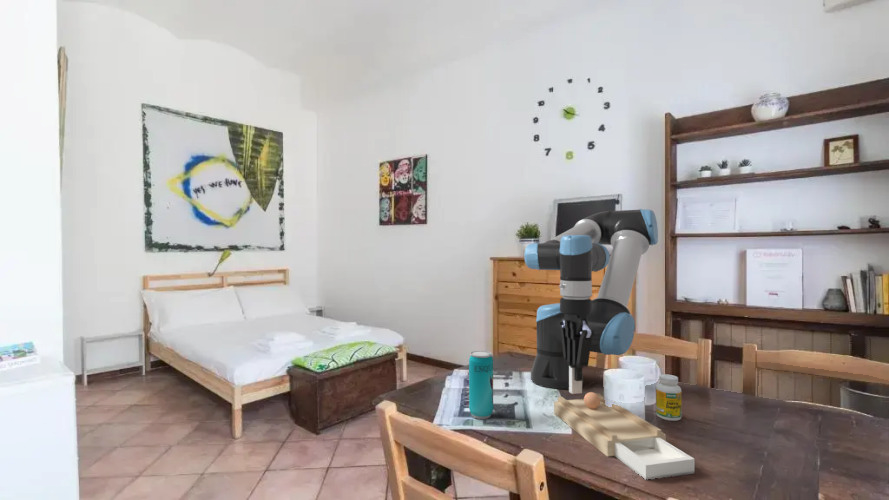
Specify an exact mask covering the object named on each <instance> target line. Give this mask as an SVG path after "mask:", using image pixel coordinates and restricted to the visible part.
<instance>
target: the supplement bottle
mask: <svg viewBox="0 0 889 500" xmlns="http://www.w3.org/2000/svg"><path fill="white" fill-rule="evenodd" d="M658 377H659V378H658V381H659V383H657V385H656V386H655V387H656V388H655V392H656V393H655V396H656V397H655V399H656V401H655V403H656V405H655V406H656V408H655V409H656V411H655V413H656V416H657V417H658V418H660V419H663V420H666V421H673V422H675V421H676V422H677V421H680V420H681V419H682V416H683V415H682V407H683V406H682V387H680V386H679V385H678V384H679V377H678V376H676V375H672V374H667V373H663V374H659V375H658Z"/></svg>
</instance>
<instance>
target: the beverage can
mask: <svg viewBox="0 0 889 500" xmlns="http://www.w3.org/2000/svg"><path fill="white" fill-rule="evenodd" d="M468 374H469V375H468V408H469V411H470V414H471V416H472V418H474V419H475V420H487V419H490V418H491V416H492V414H493V411H494V358H493V353H492V352H491V351H487V350H474V351H471V352H470V356H469V359H468Z"/></svg>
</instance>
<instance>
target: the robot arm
mask: <svg viewBox="0 0 889 500" xmlns="http://www.w3.org/2000/svg"><path fill="white" fill-rule="evenodd" d="M658 230H659V229H658V222H657V217H656V213H655V212H654V211H653V210H652V209H648V208H647V209H645V208H644V209H643V208H639V209H625V210H624V209H623V210H607V211H601V212H597V213H594V214H591V215H589V216H586V217H584V218H582V219H580V220H578V221H577V222H576V223H575V225H573V227H571V228H570V229H568V230H566V231H564V232H562V233H560V234H558V235H557V236H555V237H552V238H551V239H549V240H547V241H545V242H542V243H540V242H536V243H535V242H534V243H530V244H528V245H527V246H526V248H525V249H524V254H523V255H524V257H523V258H524V262H525V265H526V267H527V268H528V269H530V270H538V271H560V272H559V273H560V275H559V277H560V278H559V280H560V281H559V290H560V292H559V295H560V296H561V298H560V299H559V302H558V303H551V304H550V303H549V304H544V305H540V306H539V307H538V308H537V310H536V320H535V323H536V355H535V358H534V361H533V363H532V364H533V365H532V367H531V371H530V381H531V380H532V381H533V382H532V381H531V382H532V383H534V384H535V383H536V384H535V385H537V384H539V386H540V385H542V386H541V387H544V386H545V387H544V388H549V387H551V388H550V389H560V390H562V389H563V390H564V389H566V390H567V389H568V392H569V393H570V394H572V395H575V394H583V384H584V375H583V368H585V367H586V368H587V367H588V366H589V363H590V362H589V361H590V354H591V353H597V354H603V355H606V356H608V355H612V356H613V355H614V356H621V355H624V354H625V353H627V351H628V350H629V349H630V348H631V345H632V343H633V339H634V337H635V334H634V332H635V329H636V328H635V325H636V324H635V319H634V316H633V315H632V314H631V311H630V309H629V308H628V304H629V302H630V297H631V294H632V290H633V287H634V283H635V279H636V275H637V272H638V268H639V264H640V260H641V258H642V255H644V254H646V253H647V252H648V250H649V247H650V246H653V245H657V243H658V241H659V231H658ZM606 245H610V246H612V250H611V252H610V251H609V250H608V249H607V247H606ZM610 253H611V254H610ZM605 268H606V269H605ZM604 269H605V272H604V275H603V278H602V281H601V284H600V287H599V290H598V294H597V297H595V298H594V299H591V298H590V297H592V296H593V285H592V283H593V282H592V280H593V279H592V277H593V275H592V274H593V272H596V273H597V272H599V271H602V270H604Z"/></svg>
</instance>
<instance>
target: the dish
mask: <svg viewBox="0 0 889 500" xmlns="http://www.w3.org/2000/svg"><path fill="white" fill-rule="evenodd" d="M648 439H650V438H648ZM651 439H652V438H651ZM653 439H655V440H649V441H648V440H643V439H642V440H640V441H639V440H637V442H639V443H637V444H638V447H639V448H642V450H640V449H639V448H637V447H636V446H637V444H636V440H632V441H630V442H631V444H630V443H629V444H630V446H628V445H629V444H628V445H627V443H628V442H629V441H624V443H623V442H621V443H623V444H621V443H620V442H615V443H614V456H613V457H615V458H617V459H618V460H619V462H622V463H623V464H624V465H626V466H627V467H628V469H631V470H632V471H633V472H634V471H635V473H636V474H637V475H638V474H639V475H638V476H640V477H641V476H642V477H643V478H644V481H649V480H648V479H651V480H656V479H655V478H658V479H664V478H663V477H665V478H670V477H671V476H672V477H678V476H685V475H693V474H695V468H696V467H695V458H694V457H692V456H691V455H689V454H687V453H686V452H684V451H682V450H681V449H679V448H677V447H676V446H674V445H672V444H671V443H669V442H668V441H667V440H666V441H664V440H663V439H661V438H660V437H657V438H653ZM633 441H634V443H635V444H634V443H632V442H633ZM644 441H645V442H646V441H648V442H646V443H647V444H645V443H643V442H644ZM650 441H651V442H650ZM652 441H653V442H652ZM625 442H626V444H625ZM640 443H642V444H641V445H639V444H640ZM649 443H650V444H649ZM632 444H634V445H633V446H634V447H633V446H632ZM648 444H649V445H648ZM653 444H654V445H655V446H654V445H653ZM635 445H636V446H635ZM644 445H647V446H646V448H645V446H644ZM627 446H628V447H630V449H635V450H637V449H639V451H638V450H637V451H635V450H634V451H633V450H632V451H631V450H630V449H629V448H628V447H627ZM640 446H641V447H640ZM643 446H644V448H643ZM631 447H632V448H631ZM635 447H636V448H635ZM648 448H654V449H648ZM643 449H644V450H643ZM642 477H641V478H642ZM643 478H642V479H643ZM646 479H647V480H646Z"/></svg>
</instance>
